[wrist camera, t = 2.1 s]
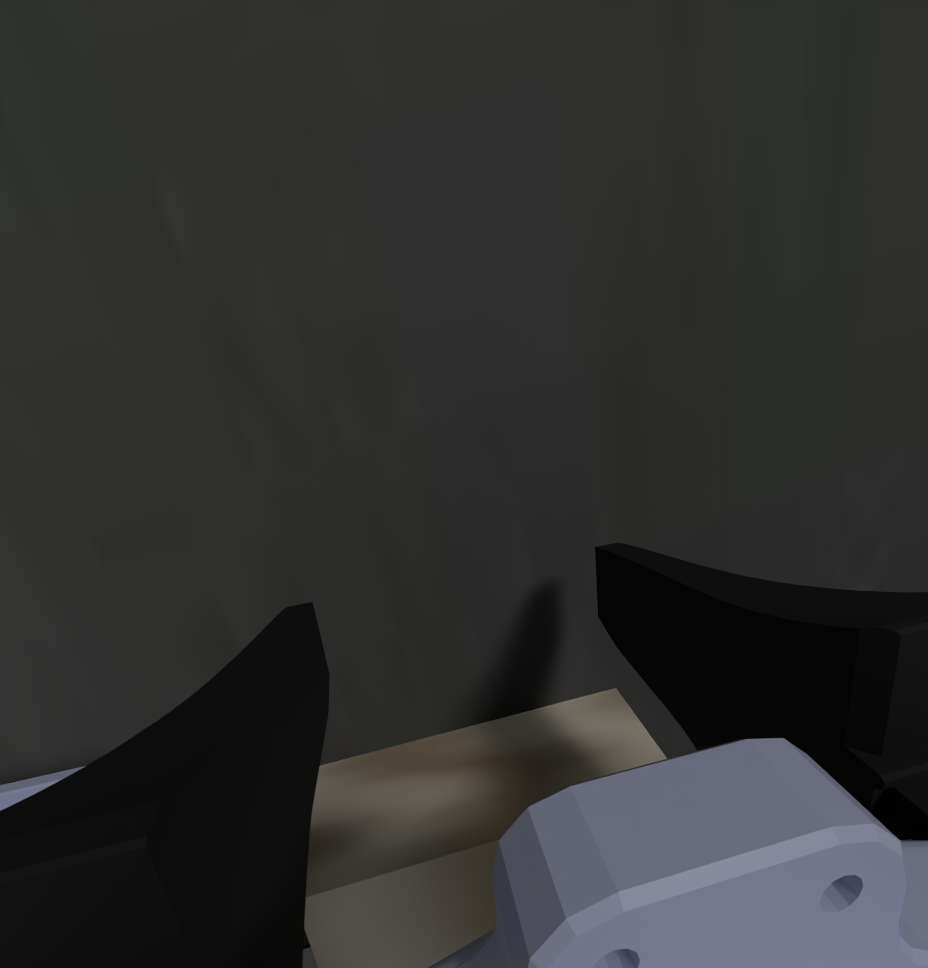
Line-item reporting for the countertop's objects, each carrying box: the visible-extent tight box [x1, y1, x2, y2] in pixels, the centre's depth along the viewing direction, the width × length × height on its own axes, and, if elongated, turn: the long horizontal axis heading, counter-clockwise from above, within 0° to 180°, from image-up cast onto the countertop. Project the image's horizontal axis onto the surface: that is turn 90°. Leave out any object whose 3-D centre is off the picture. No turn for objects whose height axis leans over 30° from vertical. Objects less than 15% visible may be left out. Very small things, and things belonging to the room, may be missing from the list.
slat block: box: [304, 688, 667, 968], centre depth 14 cm, size 10×4×4 cm, turn 99°
